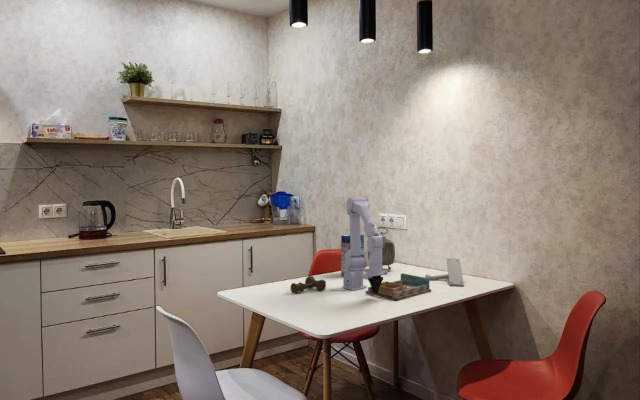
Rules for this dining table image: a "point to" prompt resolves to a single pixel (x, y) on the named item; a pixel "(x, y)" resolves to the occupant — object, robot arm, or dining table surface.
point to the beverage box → (345, 248)
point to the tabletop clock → (387, 251)
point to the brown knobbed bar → (308, 285)
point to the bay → (413, 284)
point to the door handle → (451, 273)
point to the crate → (390, 288)
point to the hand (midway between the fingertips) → (375, 293)
